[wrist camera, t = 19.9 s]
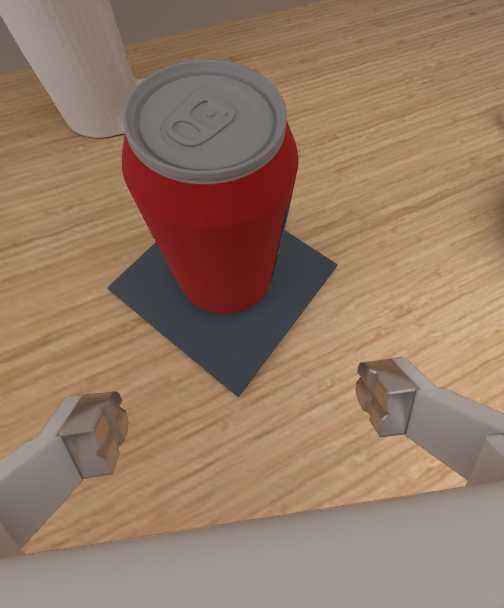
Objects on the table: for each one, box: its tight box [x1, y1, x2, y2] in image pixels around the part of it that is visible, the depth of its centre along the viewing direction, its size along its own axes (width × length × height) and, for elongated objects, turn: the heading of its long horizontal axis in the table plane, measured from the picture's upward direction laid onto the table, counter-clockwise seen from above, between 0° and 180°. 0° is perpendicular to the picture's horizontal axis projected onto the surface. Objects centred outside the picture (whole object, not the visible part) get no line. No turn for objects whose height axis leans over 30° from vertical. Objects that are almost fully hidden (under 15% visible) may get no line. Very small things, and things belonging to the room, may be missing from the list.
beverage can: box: [122, 60, 298, 314], centre depth 15 cm, size 7×7×12 cm
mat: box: [108, 230, 337, 397], centre depth 20 cm, size 12×12×1 cm
